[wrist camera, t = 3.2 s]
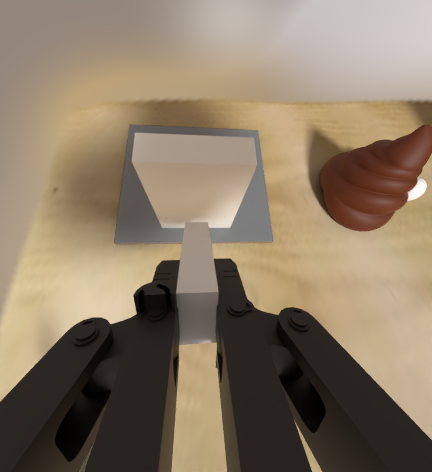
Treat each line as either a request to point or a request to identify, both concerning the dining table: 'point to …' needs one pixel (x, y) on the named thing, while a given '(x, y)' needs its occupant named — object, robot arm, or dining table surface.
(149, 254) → the dining table surface
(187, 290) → the robot arm
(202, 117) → the dining table surface
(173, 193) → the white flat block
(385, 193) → the poop emoji
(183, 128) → the slate board
